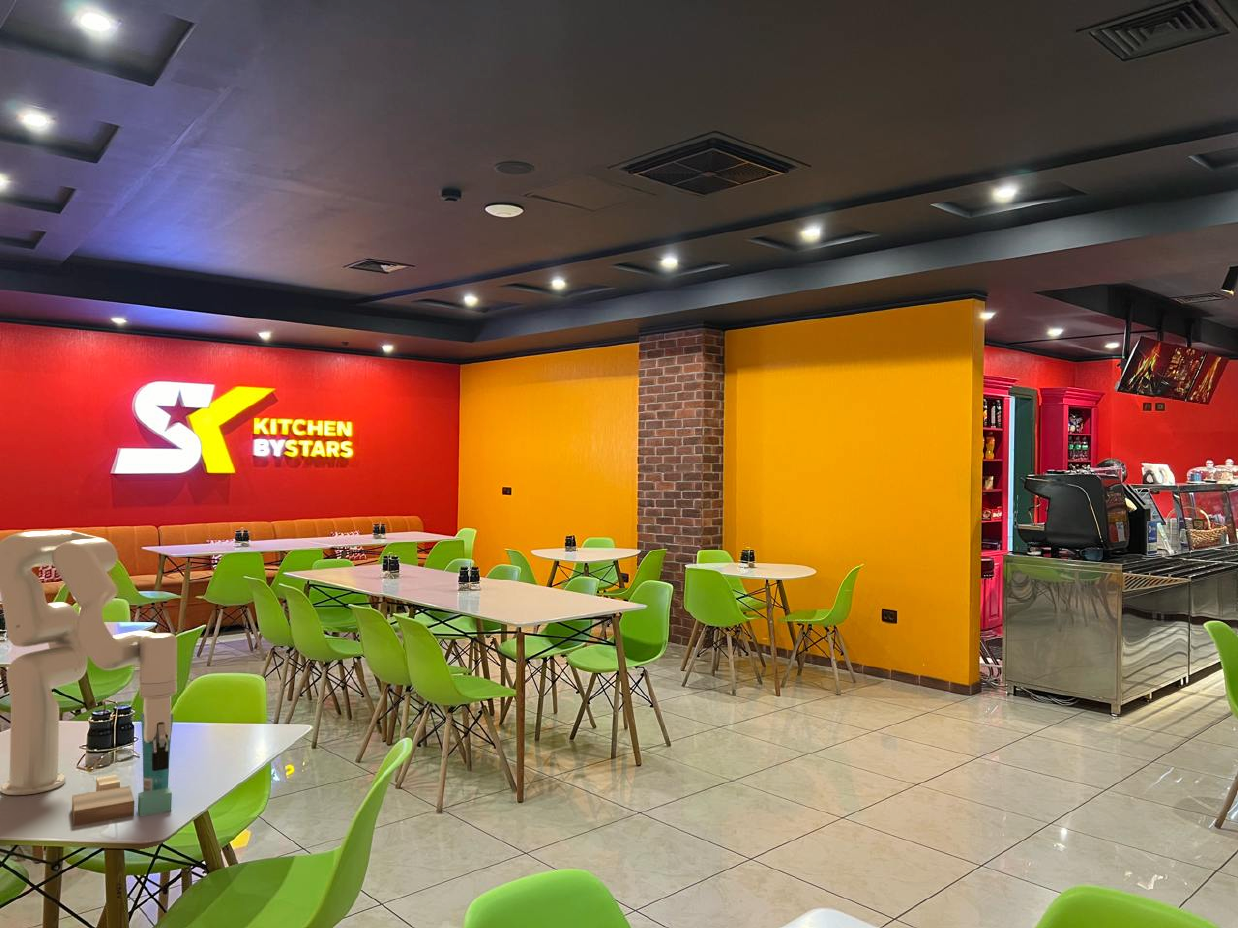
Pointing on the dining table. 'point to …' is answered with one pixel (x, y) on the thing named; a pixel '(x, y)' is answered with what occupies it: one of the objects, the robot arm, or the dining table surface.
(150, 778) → the tube
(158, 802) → the teal block
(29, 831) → the dining table surface
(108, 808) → the plinth
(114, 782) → the beech block
